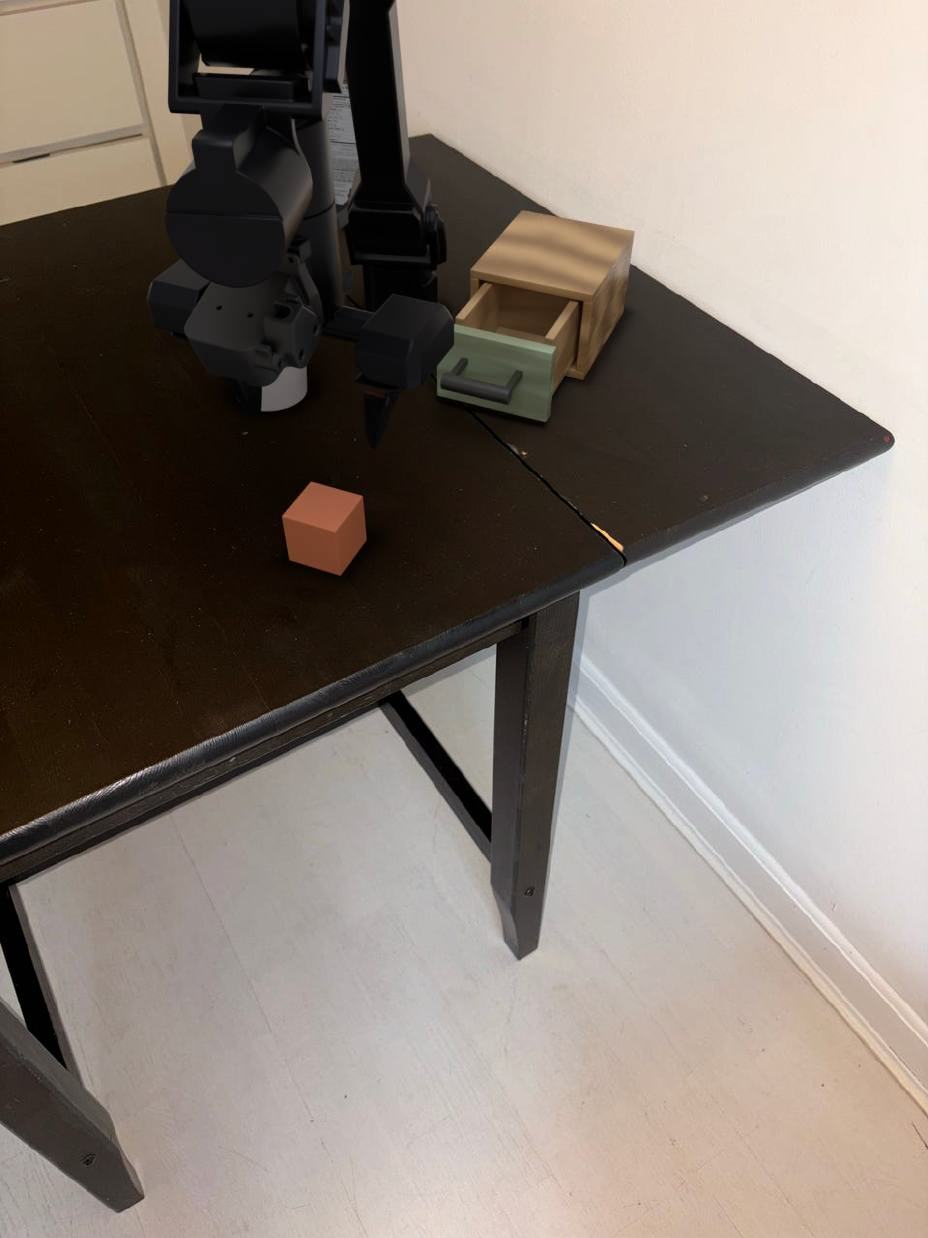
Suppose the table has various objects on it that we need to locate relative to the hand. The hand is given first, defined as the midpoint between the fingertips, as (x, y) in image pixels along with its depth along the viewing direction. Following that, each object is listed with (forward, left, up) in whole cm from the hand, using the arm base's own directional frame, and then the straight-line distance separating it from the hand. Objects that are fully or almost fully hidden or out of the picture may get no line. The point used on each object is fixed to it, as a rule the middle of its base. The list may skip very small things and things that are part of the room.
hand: (313, 430), depth 65 cm
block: (0, 0, -11) cm, 11 cm away
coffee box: (-25, +54, -11) cm, 60 cm away
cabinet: (+5, +37, -11) cm, 39 cm away
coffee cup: (-15, +17, -11) cm, 25 cm away
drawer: (+5, +25, -10) cm, 28 cm away
